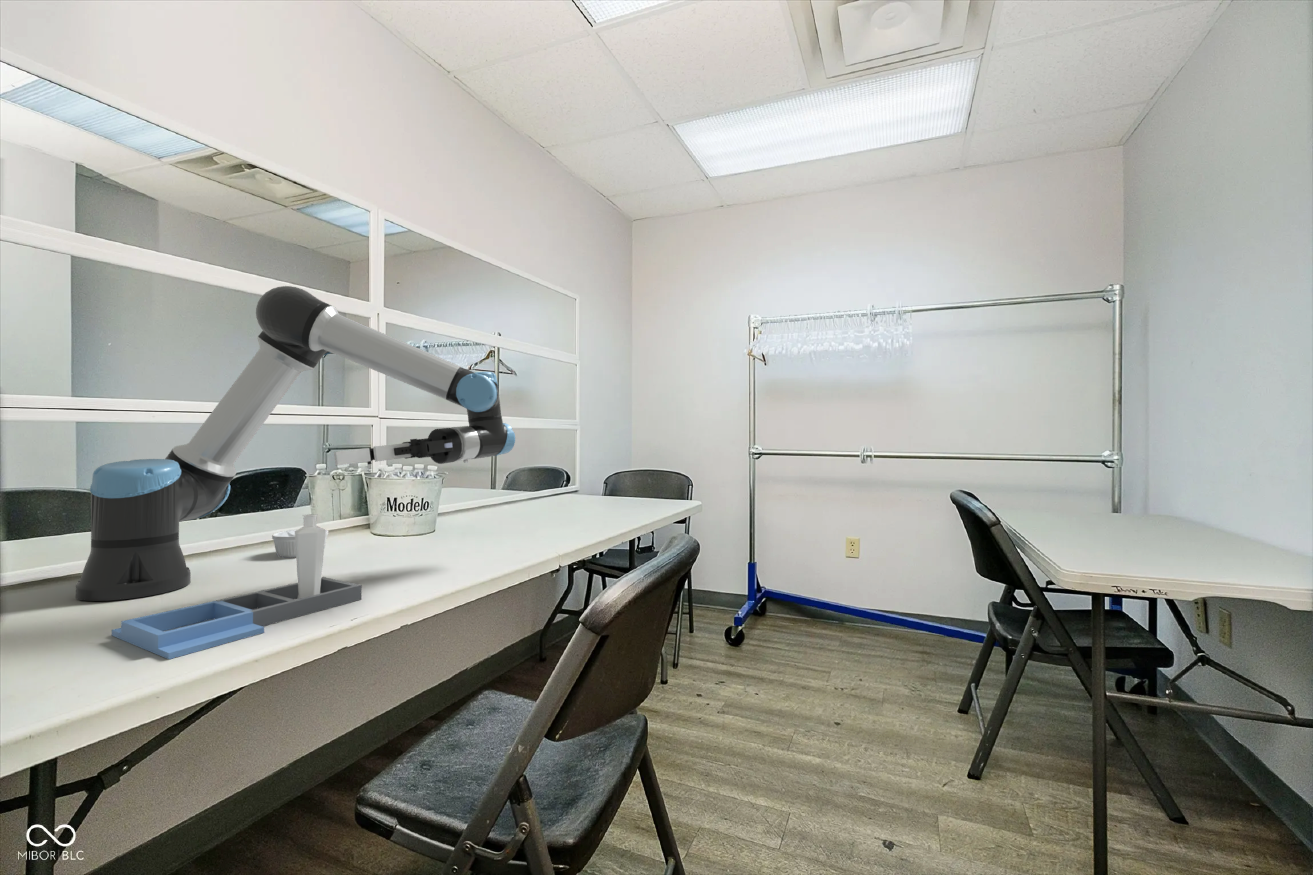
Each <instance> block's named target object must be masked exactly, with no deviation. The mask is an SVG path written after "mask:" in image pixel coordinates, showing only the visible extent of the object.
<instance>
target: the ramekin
mask: <svg viewBox="0 0 1313 875" xmlns="http://www.w3.org/2000/svg"><path fill="white" fill-rule="evenodd" d="M296 530H297V529H289V530H284V531H280V532H275V533H273V534H272V536H271V537H272V538H271V539H272V540H273V545H274V548H275V553H276V555H277V556H278V557H279V558H285V559H287V558H288V559H296V558H295V557H296V544H295V531H296ZM325 530H326V535H325V545H324V550H325V548H326V543H327V539H328V535H329V530H328V529H325ZM293 557H294V558H293Z"/></svg>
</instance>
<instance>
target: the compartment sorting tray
mask: <svg viewBox="0 0 1313 875" xmlns="http://www.w3.org/2000/svg"><path fill="white" fill-rule="evenodd" d="M362 590H363V589H362V584H358V583H353V582H348V581H343V580H340V579H336V578H335V579H334V578H330V577H325V576H321V586H320V594H317V595H312V596H308V597H304V598H300V599H297V598H298V595H299V593H298V582H294V583H290V584H285V585H281V586H276V587H272V588H267V589H262V590H257V591H253V592H249V593H244V594H239V595H236V596H231V597H226V598H222V599H217V600H216V599H215V600H212V601H207V602H204V603H203V602H202V603H199V604H194V605H190V606H186V607H181V608H176V609H175V608H174V609H171V610H167V611H163V612H158V613H153V614H149V615H144V616H139V617H134V618H130V619H125V620H121V622H120V627H118V628H113V629H111V636H112V637H115V638H118V639H119V640H121V641H124V642H125V643H129V644H131V645H133V646H136V647H138V648H141V649H142V650H145V651H148V652H150V653H153V654H155V655H158V656H160V657H162V658H164V659H166V660H172V659H175V657H176V658H179V657H183V656H186V655H190V654H194V653H196V652H200V651H204V650H207V649H211V648H214V647H217V646H221V645H225V644H229V643H231V642H236V641H239V640H243V639H245V638H250V637H253V636H256V635H260V634H264V633H265V627H266V626H269V625H272V624H277V623H279V622H283V621H287V620H291V619H295V618H299V617H302V616H305V615H308V614H313V613H316V612H320V610H321V611H325V610H328V609H332V608H335V607H338V606H342V605H346V604H350V603H353V602H356V601H361V600H362V596H363V595H362V592H363V591H362ZM276 622H277V623H276ZM228 642H229V643H228Z"/></svg>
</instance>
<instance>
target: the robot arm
mask: <svg viewBox="0 0 1313 875" xmlns="http://www.w3.org/2000/svg"><path fill="white" fill-rule="evenodd" d="M338 311H339V310H338V309H337V308H336V307H335V306H334V305H331V304H329V303H326V302H325V301H323V300H321V299H319V298H317V297H316V296H314V295H313V294H312V293H310V292H309V291H307V290H305V289H303V288H301V287H300V288H299V287H296V286H291V285H289V286H287V285H285V286H284V285H283V286H277V287H274V288H271V289H270V290H267V291H266V292H264V294H263V295H261V297H260V298H259V300H258V302H257V304H256V307H255V317H256V321H257V323H258V325H259V327H260V328H261V332H260V333H259V335H257V341H258V344H259V349H258V351H257V352H256V353H255V354H254V356H253V357H252V359H250V361H249V362H248V364H247V365H246V367H244V369H243V370H242V371H241V373H240V375H238V377H237V379H235V381H233V384H232V385H231V386H230V387H229V389H228V390H227V392H226V393H225V394H224V395H223V397H222V398H221V399H220V401H219V402H218V403H217V405H216V406H215V408H213V410H212V411H211V412H210V414H209V416H207V418H206V420H204V422H203V424H202V425H201V426H200V427H199V428H198V430H197V431H196V433H195V434H194V436H192V438H191V439H190V441H189V442H188V443H186V444H180V445H176V446H174V447H173V448H172V449H171V451H170V452H169V453H168V455H167V456H166V457H165V458H144V459H143V458H142V459H131V460H121V461H114V462H109V463H106V464H102V465H99V466H98V467H96V468H95V469H94V471H93V472H92V478H91V484H90V486H89V487H90V488H89V491H90V501H91V502H90V505H91V506H90V509H91V510H90V511H91V512H90V553H89V555H88V557H87V559H86V563H85V565H84V568H83V571H82V574H81V576H80V579H78V581H77V582H76V584H75V599H77V600H79V601H80V600H81V601H86V602H87V601H88V602H105V601H107V602H108V601H121V600H128V599H137V598H138V599H139V598H143V597H150V596H154V595H155V596H156V595H160V594H164V593H169V592H172V591H175V590H176V591H177V590H179V589H182V588H184V587H187V586H188V585H190V584H191V577H192V574H191V570H190V567H188V566H187V563H186V558H185V556H184V553H183V551H182V548H181V545H180V522H187V521H191V520H195V519H201V518H203V517H205V516H207V515H210V514H211V513H213V512H215V511H217V510H218V509H220V508H221V507H222V506H223V504H225V502H226V500H228V497H229V495H230V492H231V485H230V484H231V481H232V480H234V477H235V476H236V474H237V470H236V467H235V462H236V461H237V460H238V458H239V457H240V455H242V453H243V452H244V450H245V449H246V448H247V446H248V445H249V444H250V442H251V441H252V439H254V437H255V435H256V434H257V432H258V431H259V430H260V428H262V426H263V425H264V423H265V422H266V420H267V419H268V417H269V416H270V415H271V414H272V412H273V411H274V410H275V408H276V407H277V406H278V404H279V403H280V402H281V401H282V399H283V397H284V396H285V395H286V393H288V390H290V388H291V387H292V386H293V384H294V383H295V382H296V380H297V378H299V376H300V374H301V373H302V372H304V371H309V370H315V367H316V366H317V365H318V364H319V362H320V361H321V360H322V359H323V357H325V356H327V355H329V354H334V355H336V356H339V357H341V358H344V359H346V360H348V361H351V362H353V363H355V364H358V365H360V366H362V367H363V366H364V367H366V368H368V369H371V370H373V371H375V372H377V373H379V374H382V375H385V376H387V377H390V378H393V379H395V380H397V381H400V382H403V384H407V385H408V386H412V387H415V388H417V389H420V390H421V391H423V392H427V393H428V394H432V395H434V396H436V397H438V398H441V399H444V400H446V401H448V402H450V403H452V404H455V405H457V406H459V407H462V408H465V409H466V412H467V414H466V415H467V419H468V421H467V422H468V425H460V426H453V427H443V428H434V429H432V430H431V432H430V433H429V434H428V436H427V437H426V438H419V439H418V438H411V439H409V440H410V441H403V442H401V443H394V444H386V445H385V444H384V445H375V446H373V447H364V448H355V449H346V450H339V451H333V456H334V461H335V462H334V463H335V466H344V465H351V464H359V463H367V465H372V461H374V462H382V461H383V462H384V461H390V460H399V459H406V460H407V459H413V458H414V459H415V458H417V459H425V458H431V460H432V461H433V462H434V463H436V464H439V465H443V464H448V463H450V464H451V463H455V462H460V461H463V463H464V464H467V463H468V462H469V460H475V459H481V458H491V457H498V456H499V455H505V454H508V453H509V452H511V451H512V450H513V448H514V447H515V443H516V434H515V432H514V430H513V428H512V426H511V425H510V424H508V423H506V422H505V423H504V421H503V416H502V411H501V410H502V409H501V402H500V391H499V383H498V378H497V375H496V374H495V373H494V372H491V371H476V372H474V371H472V370H469V369H467V368H464V367H462V366H460V365H458V364H456V363H453V362H451V361H449V360H446V359H445V358H441V357H439V356H437V355H435V354H433V353H430V352H428V351H426V350H423V349H420V348H418V347H416V346H414V345H412V344H409V343H407V342H404V341H402V340H401V339H398V338H396V337H393V336H392V335H391V336H390V335H388V334H386V333H384V332H381V331H379V330H377V329H374V328H372V327H370V326H367V325H364V324H362V323H360V322H357V321H356V320H353V319H351V318H349V317H346V316H344V315H342V314H340V313H339V312H338Z"/></svg>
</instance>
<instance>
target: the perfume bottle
mask: <svg viewBox="0 0 1313 875" xmlns="http://www.w3.org/2000/svg"><path fill="white" fill-rule="evenodd" d="M302 517H303V526H302V527H300V528H298V529H295V530H296V531H295V544H296V558H295V559H296V572H297V573H296V576H297V583H298V593H299V595H298V598H297V599H300V598H304V597H308V596H312V595H317V594H321V593H320V586H321V577H323V576H322V575H323V563H324V553H325V549H324V545H325V546H326V544H325V535H326V530H327V529H326V528H323V527H320V526H318V525H317V517H318V514H314V513H311V514H310V513H308V514H302Z"/></svg>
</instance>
